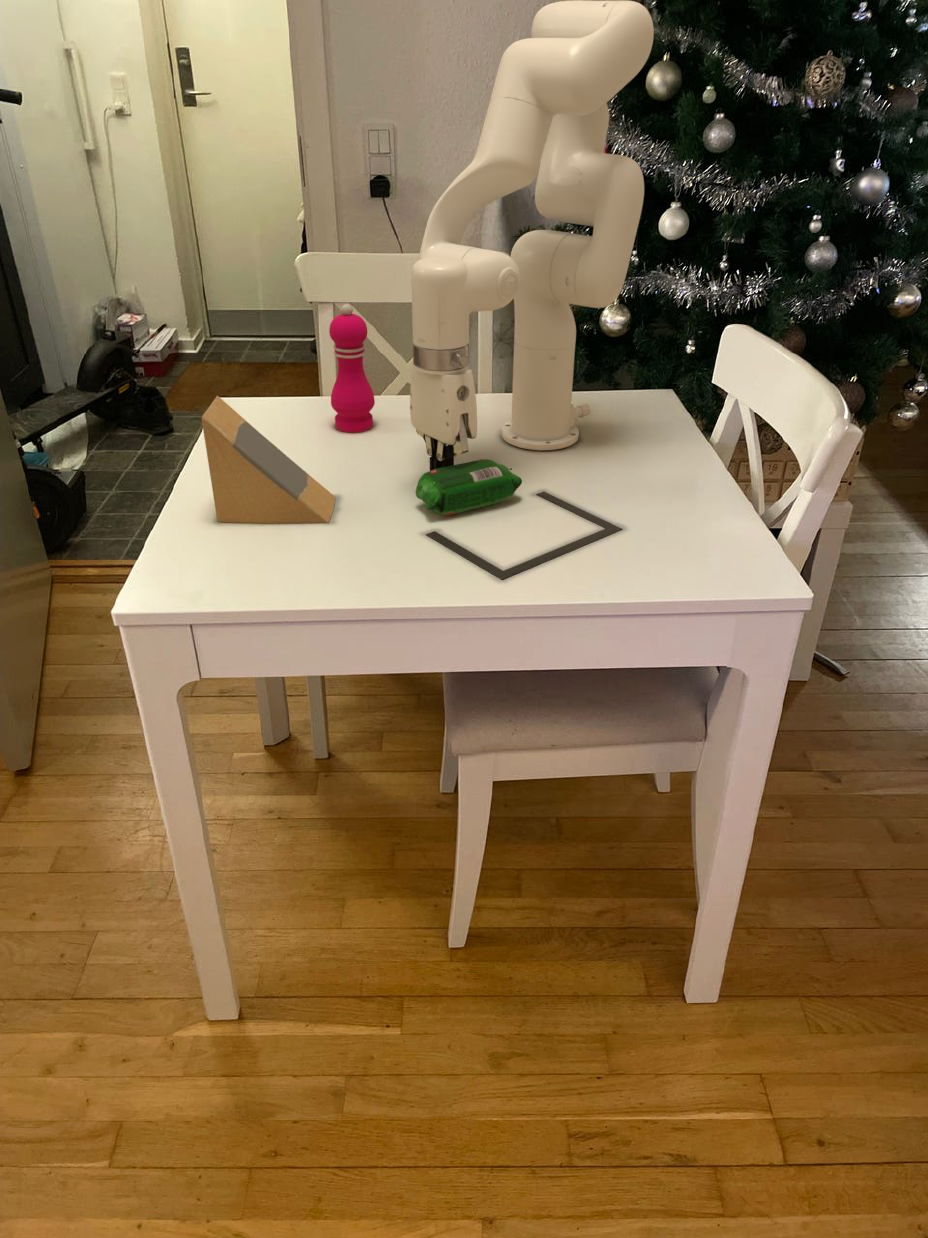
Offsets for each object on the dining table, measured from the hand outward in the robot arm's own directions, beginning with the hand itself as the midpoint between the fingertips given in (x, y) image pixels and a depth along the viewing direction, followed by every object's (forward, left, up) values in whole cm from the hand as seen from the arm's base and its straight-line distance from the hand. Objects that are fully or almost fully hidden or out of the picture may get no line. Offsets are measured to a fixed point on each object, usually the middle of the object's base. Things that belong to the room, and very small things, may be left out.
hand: (441, 481), depth 136 cm
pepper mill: (-4, -29, -1) cm, 29 cm away
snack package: (0, +6, -1) cm, 6 cm away
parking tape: (0, +18, -1) cm, 18 cm away
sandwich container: (+22, -9, -1) cm, 24 cm away
